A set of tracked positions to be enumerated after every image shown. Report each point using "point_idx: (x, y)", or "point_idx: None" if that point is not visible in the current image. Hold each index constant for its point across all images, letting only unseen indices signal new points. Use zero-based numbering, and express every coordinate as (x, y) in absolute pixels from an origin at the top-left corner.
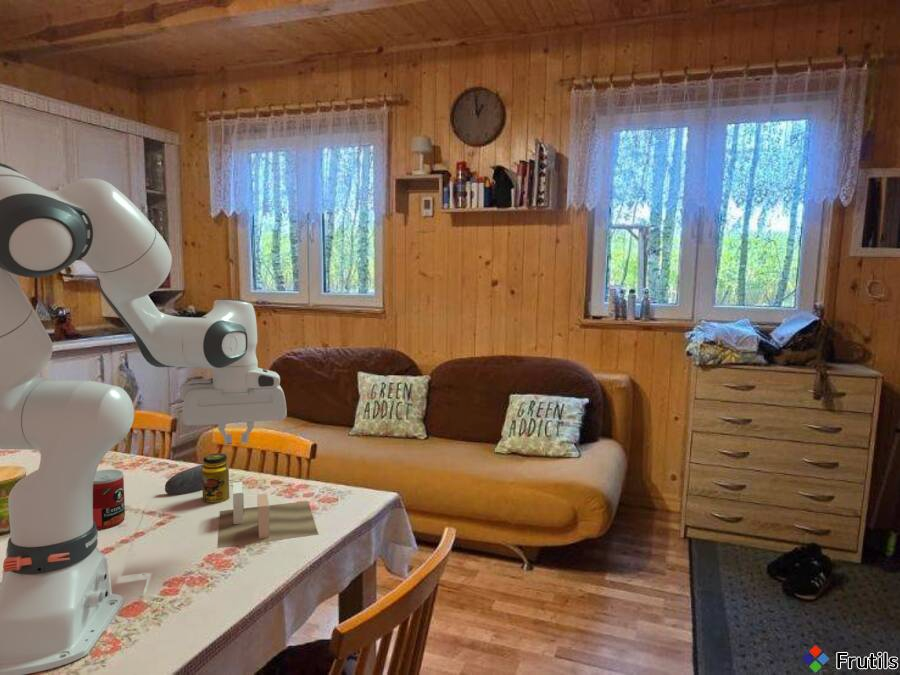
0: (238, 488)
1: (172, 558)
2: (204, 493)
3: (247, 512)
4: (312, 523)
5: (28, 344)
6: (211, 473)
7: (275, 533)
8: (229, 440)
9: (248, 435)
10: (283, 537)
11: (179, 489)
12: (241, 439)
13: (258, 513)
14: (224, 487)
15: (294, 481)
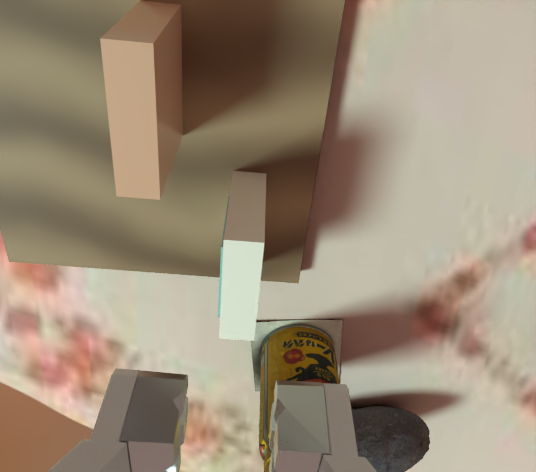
0: (237, 285)
1: (501, 11)
2: (335, 371)
3: (214, 245)
4: None
5: None
6: None
7: None
8: (300, 409)
9: (92, 433)
10: None
11: (391, 421)
12: (179, 413)
13: (162, 49)
14: (276, 374)
15: (74, 405)
